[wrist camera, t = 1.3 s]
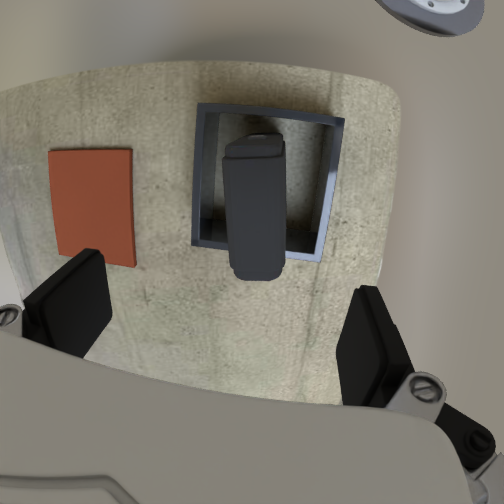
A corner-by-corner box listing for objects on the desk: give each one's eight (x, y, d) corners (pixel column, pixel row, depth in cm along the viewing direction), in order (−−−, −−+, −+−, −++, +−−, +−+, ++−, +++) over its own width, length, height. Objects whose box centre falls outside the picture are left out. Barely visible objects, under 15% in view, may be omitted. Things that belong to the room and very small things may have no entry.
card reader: (245, 130, 31) (213, 142, 17) (284, 129, 30) (283, 140, 17) (249, 213, 35) (224, 282, 21) (286, 213, 34) (284, 283, 21)
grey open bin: (213, 104, 30) (197, 102, 24) (334, 117, 29) (345, 118, 24) (205, 224, 36) (191, 245, 30) (315, 238, 35) (320, 262, 30)
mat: (51, 150, 33) (47, 151, 33) (132, 149, 33) (129, 150, 32) (62, 252, 40) (58, 254, 39) (136, 265, 39) (134, 268, 38)
